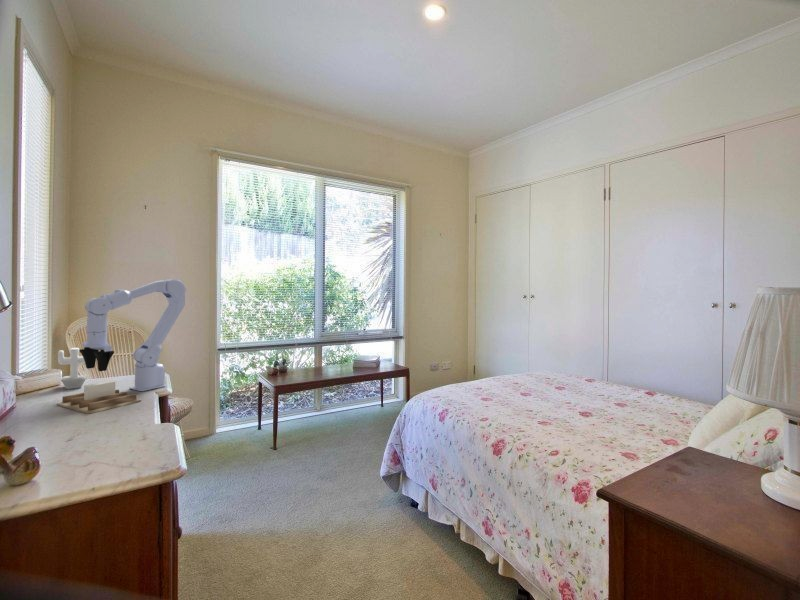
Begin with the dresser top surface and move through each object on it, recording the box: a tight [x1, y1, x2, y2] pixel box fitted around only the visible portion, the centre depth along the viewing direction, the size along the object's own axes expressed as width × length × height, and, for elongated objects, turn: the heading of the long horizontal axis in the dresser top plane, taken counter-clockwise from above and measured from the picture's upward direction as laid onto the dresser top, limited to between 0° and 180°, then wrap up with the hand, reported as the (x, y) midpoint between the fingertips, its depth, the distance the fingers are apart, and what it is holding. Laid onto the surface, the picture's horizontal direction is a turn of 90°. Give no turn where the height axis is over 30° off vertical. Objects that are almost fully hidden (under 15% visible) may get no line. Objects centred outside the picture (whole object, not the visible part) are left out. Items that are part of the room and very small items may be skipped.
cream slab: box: [83, 380, 116, 400], centre depth 130 cm, size 8×2×6 cm, turn 155°
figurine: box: [57, 347, 91, 390], centre depth 148 cm, size 7×9×15 cm
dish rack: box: [56, 389, 142, 415], centre depth 130 cm, size 16×18×3 cm
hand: (96, 369), depth 138 cm, fingers open, 7 cm apart
